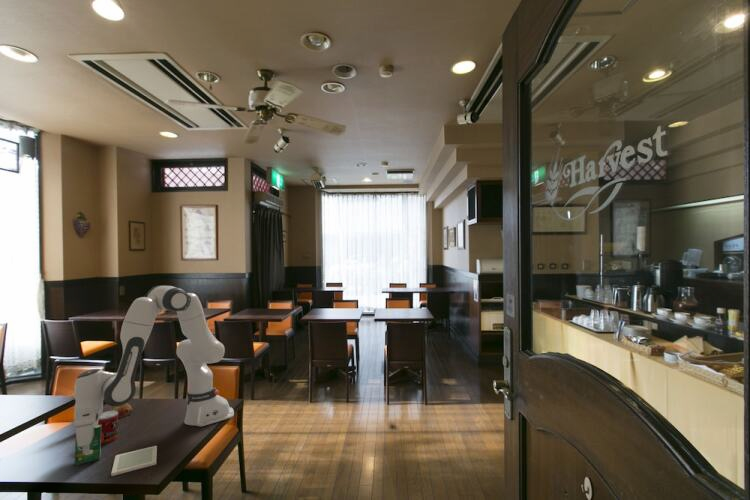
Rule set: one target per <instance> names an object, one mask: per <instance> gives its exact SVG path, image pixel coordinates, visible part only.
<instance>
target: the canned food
mask: <svg viewBox="0 0 750 500" xmlns="http://www.w3.org/2000/svg"><path fill="white" fill-rule="evenodd" d="M101 424H102V428H101V445H102V444H108V443H112V442H113V441H115V440H116V439H118V435H119V418H118V412H117V411H108V410H107V411H103V414H102V415H101V416H100V417H99V419H98V425H101Z"/></svg>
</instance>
